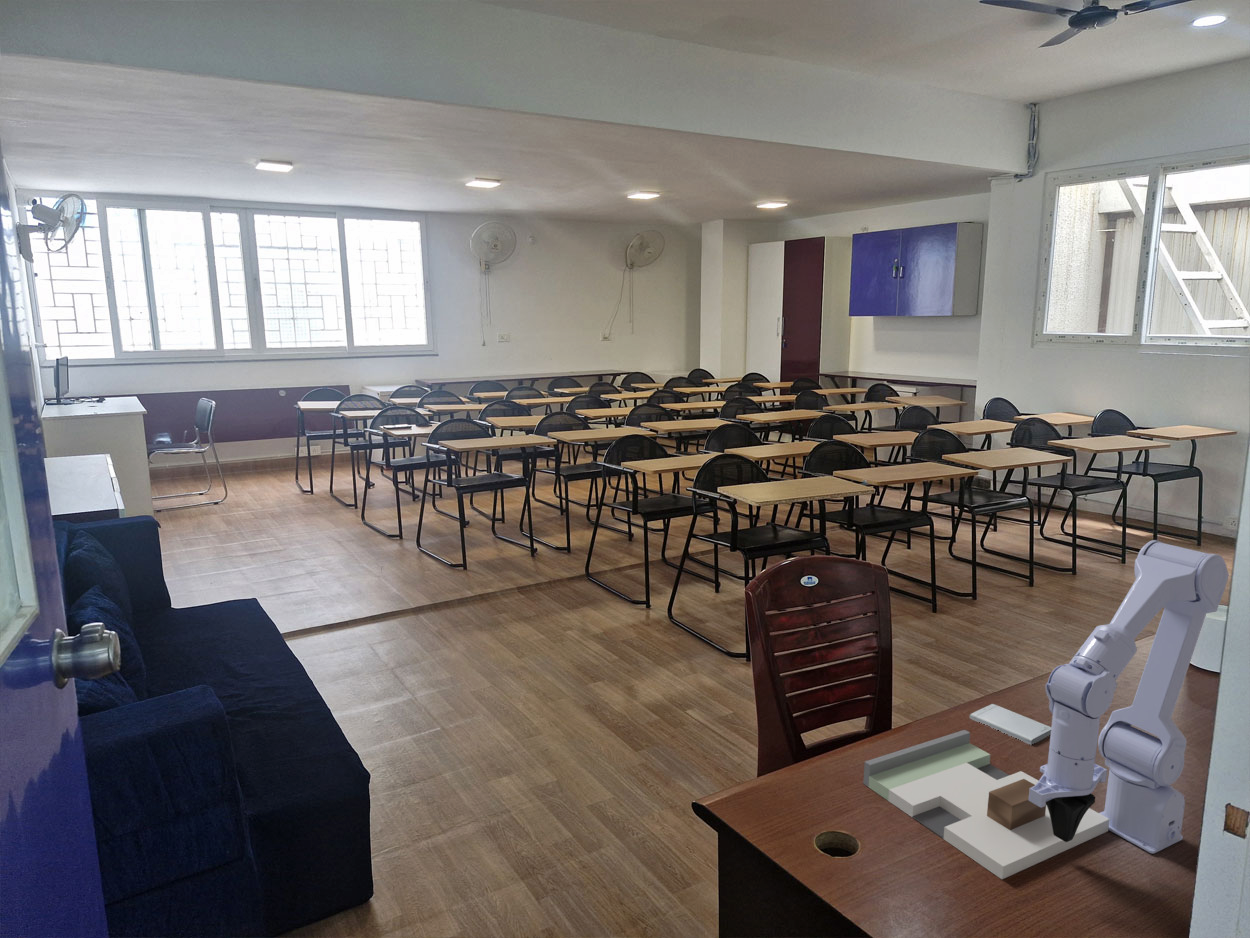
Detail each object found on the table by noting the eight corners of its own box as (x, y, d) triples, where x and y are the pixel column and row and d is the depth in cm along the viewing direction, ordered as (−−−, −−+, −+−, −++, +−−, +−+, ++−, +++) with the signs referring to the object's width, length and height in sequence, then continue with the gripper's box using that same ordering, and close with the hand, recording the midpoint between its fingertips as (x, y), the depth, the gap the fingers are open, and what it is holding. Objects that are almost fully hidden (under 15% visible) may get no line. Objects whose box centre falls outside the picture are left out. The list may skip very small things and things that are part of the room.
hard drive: (1055, 727, 151) (993, 702, 161) (1031, 740, 146) (969, 713, 156) (1054, 735, 151) (992, 710, 161) (1030, 748, 147) (969, 721, 157)
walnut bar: (1045, 815, 122) (1047, 791, 121) (1009, 830, 118) (1012, 805, 117) (1021, 802, 125) (1023, 778, 125) (986, 815, 122) (989, 791, 121)
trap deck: (1108, 831, 121) (1111, 807, 121) (1001, 879, 110) (1004, 853, 110) (962, 750, 145) (964, 729, 144) (863, 783, 134) (864, 761, 133)
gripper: (1077, 726, 119) (1068, 809, 122) (1013, 748, 113) (1004, 835, 115) (1125, 747, 113) (1114, 834, 116) (1059, 773, 107) (1049, 864, 109)
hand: (1062, 837), depth 115 cm, fingers closed
